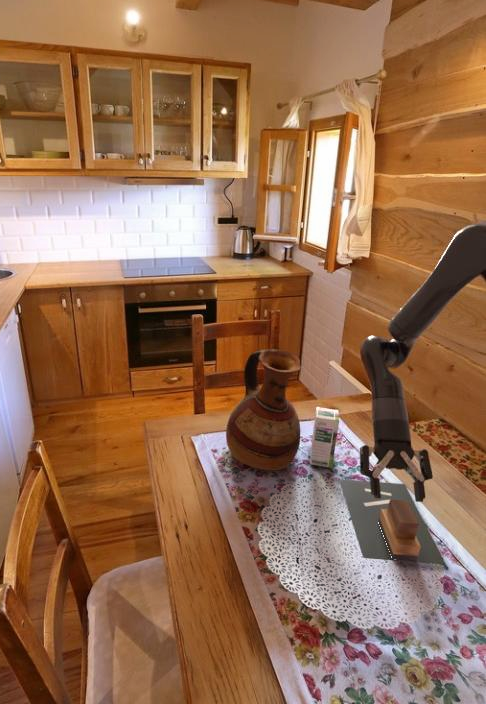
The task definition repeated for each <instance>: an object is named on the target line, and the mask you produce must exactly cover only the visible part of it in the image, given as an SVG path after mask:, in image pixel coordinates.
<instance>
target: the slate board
mask: <svg viewBox="0 0 486 704" xmlns="http://www.w3.org/2000/svg"><path fill="white" fill-rule="evenodd" d="M338 480H339V484H340V487H341V492H342V493H343V497H344V500H345V504H346V507H347V510H348V513H349V516H350V520H351V523H352V526H353V530H354V532H355V536H356V539H357V542H358V546H359V548H360V552H361V555H362V558H364V559H374V560H385V561H387V560H388V561H393V560H392V558H391V555H390V553H389V550H388V548H387V545H386V542H385V540H384V537H383V535H382V532H381V529H380V527H379V524H378V521H379V517H380V512H381V509H388V505H389V501H390V500H402V501H408V503H409V505H410V507H411V509H412V511H413V513H414V515H415V517H416V519H417V522H418V524H419V525H418V529H417V533H416V537H417V539H418V542H419V544H420V546H421V548H420V552H419V555H418V559H417V562H416V563H422V564H435V565H446V561H445V560H444V557H443V556H442V554H441V552H440V550H439V548H438V546H437V544H436V542H435V541H434V538H433V536H432V535H431V533H430V531H429V528H428V527H427V525H426V523H425V521H424V519H423V517H422V515H421V513H420V511H419V509H418V507H417V506H416V504H415V501H414V500H413V497H412V495H411V494H410V492H409V490H408V488H407V486H406V484H405V483H397V482H396V483H395V482H381V481H380V491H381V498H374V495H372V493H371V486H370V481H367V480H354V479H353V480H352V479H342V478H341V479H338ZM396 561H398V562H399V561H400V562H403V561H402V560H396ZM408 562H409V563H415V562H414V561H408Z"/></svg>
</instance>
